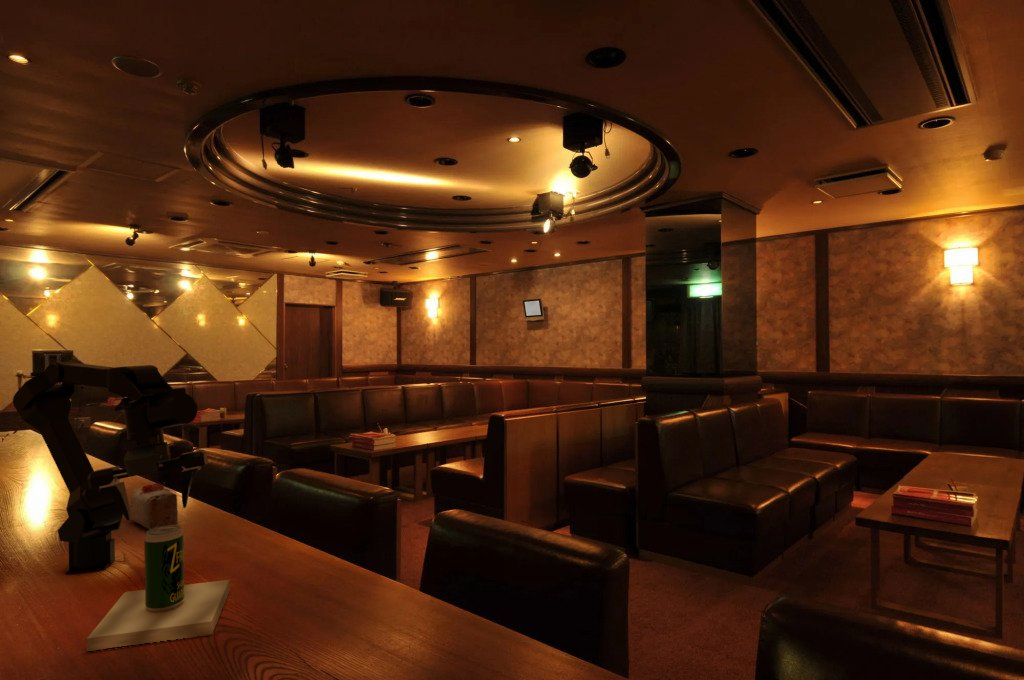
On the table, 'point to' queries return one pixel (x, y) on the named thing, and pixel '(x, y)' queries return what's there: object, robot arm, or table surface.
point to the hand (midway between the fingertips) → (157, 513)
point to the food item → (154, 506)
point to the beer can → (164, 568)
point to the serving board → (161, 617)
